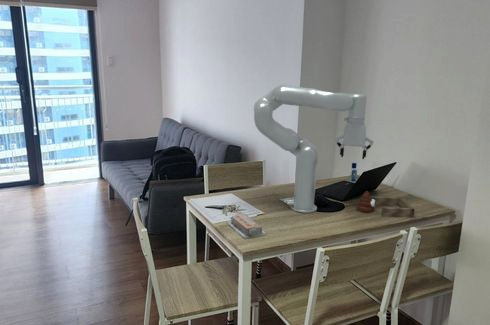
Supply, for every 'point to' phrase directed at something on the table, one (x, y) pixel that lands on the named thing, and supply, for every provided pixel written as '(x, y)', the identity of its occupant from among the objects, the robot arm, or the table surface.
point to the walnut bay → (403, 211)
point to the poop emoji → (365, 203)
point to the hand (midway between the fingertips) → (352, 157)
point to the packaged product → (246, 226)
